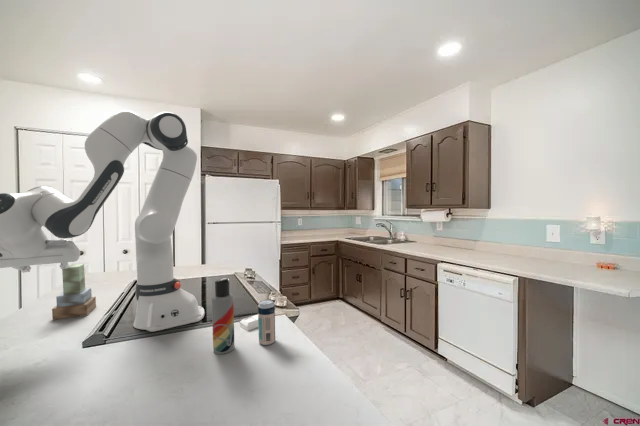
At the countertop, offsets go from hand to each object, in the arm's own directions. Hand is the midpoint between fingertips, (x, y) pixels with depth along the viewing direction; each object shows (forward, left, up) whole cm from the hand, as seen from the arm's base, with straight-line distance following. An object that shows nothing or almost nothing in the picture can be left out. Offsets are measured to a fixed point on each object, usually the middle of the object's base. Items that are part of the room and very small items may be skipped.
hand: (46, 268), depth 91 cm
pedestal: (-1, -18, -21) cm, 28 cm away
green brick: (-1, -18, -13) cm, 23 cm away
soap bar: (-62, +21, -22) cm, 69 cm away
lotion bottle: (-51, +34, -21) cm, 64 cm away
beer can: (-63, +35, -21) cm, 75 cm away
